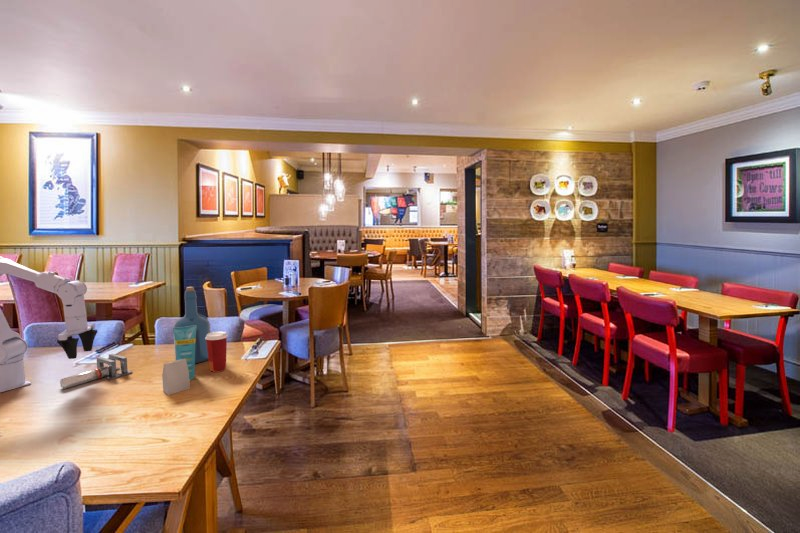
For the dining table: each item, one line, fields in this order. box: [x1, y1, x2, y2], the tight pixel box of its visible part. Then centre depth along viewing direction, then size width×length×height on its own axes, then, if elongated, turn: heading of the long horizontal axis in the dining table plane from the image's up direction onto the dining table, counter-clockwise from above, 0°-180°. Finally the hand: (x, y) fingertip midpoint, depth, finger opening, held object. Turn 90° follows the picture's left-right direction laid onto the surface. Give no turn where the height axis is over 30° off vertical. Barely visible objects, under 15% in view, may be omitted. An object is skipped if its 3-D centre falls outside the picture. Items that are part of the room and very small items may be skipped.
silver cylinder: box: [59, 365, 109, 390], centre depth 136 cm, size 14×4×4 cm, turn 153°
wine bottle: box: [173, 286, 211, 364], centre depth 158 cm, size 14×13×30 cm
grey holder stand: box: [95, 356, 122, 381], centre depth 141 cm, size 4×11×6 cm, turn 63°
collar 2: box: [108, 353, 133, 377], centre depth 145 cm, size 4×11×6 cm, turn 63°
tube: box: [172, 325, 197, 381], centre depth 139 cm, size 7×5×19 cm, turn 123°
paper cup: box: [205, 330, 228, 373], centre depth 148 cm, size 8×8×14 cm
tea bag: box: [161, 359, 191, 396], centre depth 129 cm, size 4×7×10 cm, turn 142°
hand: (80, 354), depth 135 cm, fingers open, 7 cm apart
